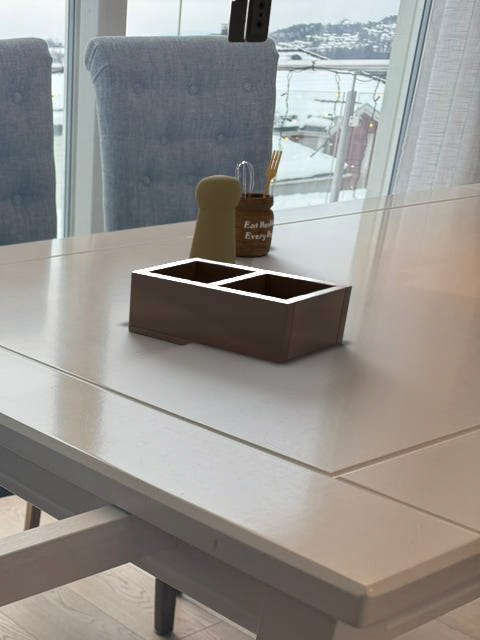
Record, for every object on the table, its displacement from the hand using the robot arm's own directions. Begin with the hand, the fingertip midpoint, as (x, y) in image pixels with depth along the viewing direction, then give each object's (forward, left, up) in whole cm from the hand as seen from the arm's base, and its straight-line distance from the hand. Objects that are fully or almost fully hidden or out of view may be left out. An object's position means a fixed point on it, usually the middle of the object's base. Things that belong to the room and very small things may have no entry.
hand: (245, 42), depth 96 cm
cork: (-2, -3, -24) cm, 24 cm away
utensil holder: (-17, -9, -24) cm, 31 cm away
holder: (+18, +16, -24) cm, 34 cm away
